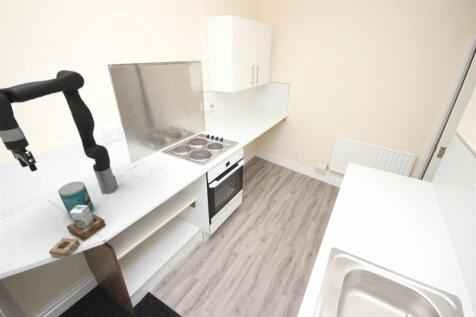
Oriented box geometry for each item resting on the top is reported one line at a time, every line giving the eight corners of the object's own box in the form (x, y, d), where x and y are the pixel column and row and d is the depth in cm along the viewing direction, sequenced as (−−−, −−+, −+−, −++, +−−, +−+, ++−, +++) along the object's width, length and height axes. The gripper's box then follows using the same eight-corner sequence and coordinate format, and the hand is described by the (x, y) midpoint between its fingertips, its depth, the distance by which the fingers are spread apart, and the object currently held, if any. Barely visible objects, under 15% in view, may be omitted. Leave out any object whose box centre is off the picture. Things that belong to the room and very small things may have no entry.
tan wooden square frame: (65, 242, 108) (62, 237, 106) (80, 244, 107) (77, 239, 105) (51, 256, 101) (48, 251, 99) (67, 258, 100) (64, 253, 98)
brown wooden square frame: (91, 217, 123) (89, 212, 120) (105, 225, 118) (103, 219, 116) (69, 232, 113) (66, 226, 111) (83, 241, 109) (80, 234, 106)
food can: (66, 213, 125) (54, 188, 117) (88, 203, 134) (79, 178, 125) (75, 223, 119) (62, 197, 111) (98, 211, 128) (88, 186, 119)
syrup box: (96, 225, 118) (88, 204, 111) (89, 233, 113) (80, 212, 106) (86, 224, 118) (77, 204, 111) (78, 233, 113) (68, 212, 106)
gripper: (32, 137, 97) (46, 168, 104) (16, 132, 102) (31, 161, 110) (10, 143, 91) (28, 176, 98) (-5, 137, 96) (12, 168, 104)
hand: (29, 168), depth 104 cm, fingers open, 8 cm apart
